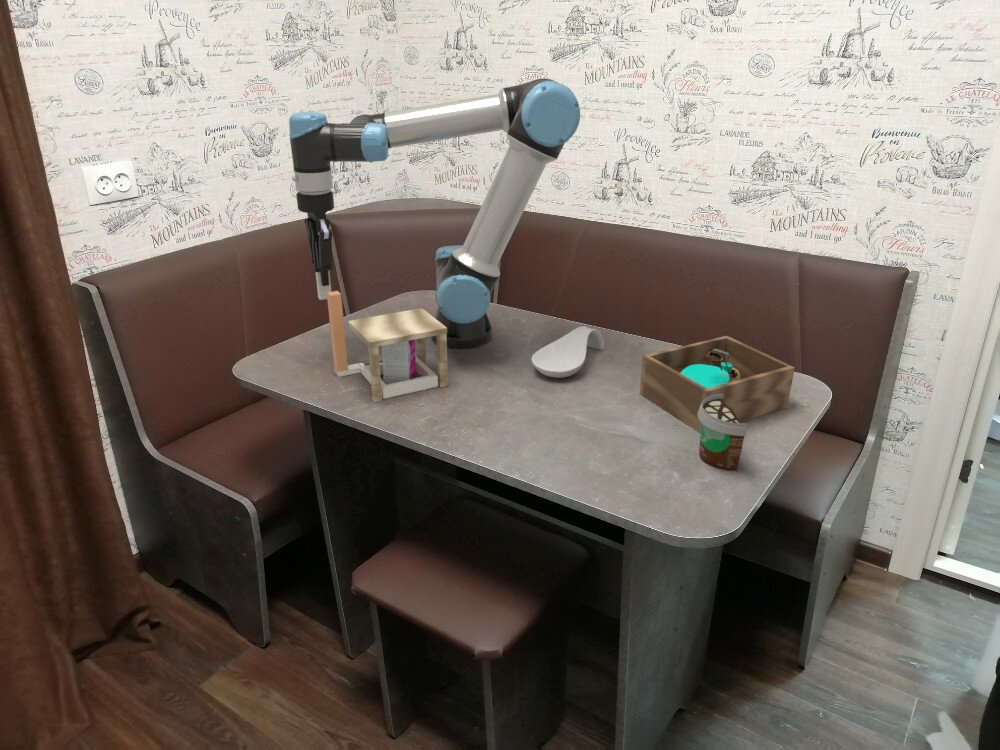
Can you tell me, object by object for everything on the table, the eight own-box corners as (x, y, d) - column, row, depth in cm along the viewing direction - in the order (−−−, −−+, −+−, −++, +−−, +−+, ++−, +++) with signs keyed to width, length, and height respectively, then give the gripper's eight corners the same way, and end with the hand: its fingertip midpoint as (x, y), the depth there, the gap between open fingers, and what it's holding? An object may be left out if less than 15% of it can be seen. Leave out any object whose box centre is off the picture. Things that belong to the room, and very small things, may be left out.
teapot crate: (721, 372, 167) (726, 335, 164) (787, 407, 152) (794, 367, 148) (639, 394, 158) (643, 355, 154) (701, 433, 142) (706, 391, 139)
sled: (408, 358, 174) (403, 280, 166) (438, 386, 161) (434, 303, 153) (334, 373, 167) (326, 292, 159) (359, 404, 153) (351, 317, 145)
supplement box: (409, 388, 160) (406, 339, 155) (383, 386, 161) (379, 337, 156) (417, 377, 165) (415, 329, 160) (392, 375, 166) (388, 327, 161)
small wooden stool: (424, 363, 172) (421, 308, 166) (448, 385, 161) (447, 327, 155) (353, 377, 165) (348, 320, 159) (374, 402, 154) (369, 342, 148)
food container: (683, 441, 140) (689, 393, 136) (715, 440, 140) (722, 392, 136) (705, 477, 129) (712, 426, 125) (739, 475, 129) (748, 425, 125)
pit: (381, 362, 173) (381, 360, 172) (387, 368, 169) (387, 366, 169) (365, 365, 171) (365, 363, 171) (370, 371, 168) (370, 370, 167)
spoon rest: (567, 389, 160) (568, 359, 157) (521, 376, 166) (521, 346, 163) (616, 353, 178) (618, 325, 175) (573, 342, 184) (575, 315, 181)
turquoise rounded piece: (766, 401, 155) (778, 334, 149) (720, 431, 144) (730, 359, 137) (707, 380, 164) (716, 316, 158) (659, 406, 153) (666, 338, 147)
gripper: (288, 187, 159) (300, 292, 169) (304, 198, 149) (316, 309, 159) (323, 184, 162) (333, 287, 172) (341, 195, 152) (350, 304, 162)
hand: (325, 298), depth 165 cm, fingers closed
